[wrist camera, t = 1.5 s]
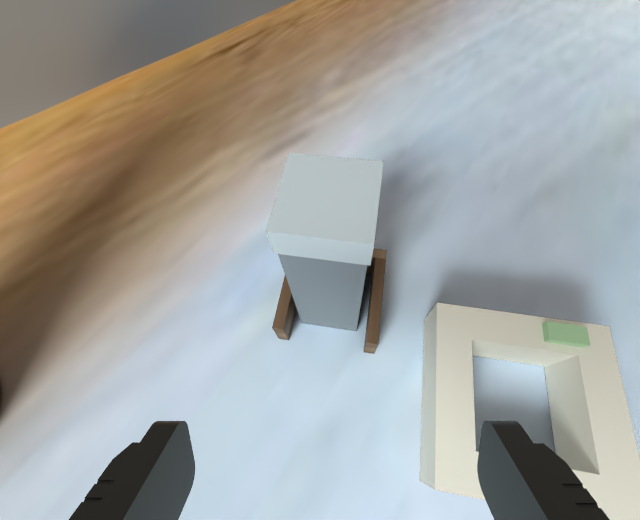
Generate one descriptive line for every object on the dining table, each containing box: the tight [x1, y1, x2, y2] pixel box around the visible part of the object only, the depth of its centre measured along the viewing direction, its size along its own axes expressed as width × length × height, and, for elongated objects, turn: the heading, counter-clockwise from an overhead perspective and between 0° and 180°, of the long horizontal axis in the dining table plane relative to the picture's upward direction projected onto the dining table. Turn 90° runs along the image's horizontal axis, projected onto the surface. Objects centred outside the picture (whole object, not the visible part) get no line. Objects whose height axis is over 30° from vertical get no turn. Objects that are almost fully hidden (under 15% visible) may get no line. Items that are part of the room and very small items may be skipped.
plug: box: [266, 153, 384, 331], centre depth 22 cm, size 5×5×14 cm
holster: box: [272, 249, 387, 354], centre depth 27 cm, size 8×8×3 cm
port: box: [420, 303, 640, 520], centre depth 21 cm, size 11×11×5 cm
